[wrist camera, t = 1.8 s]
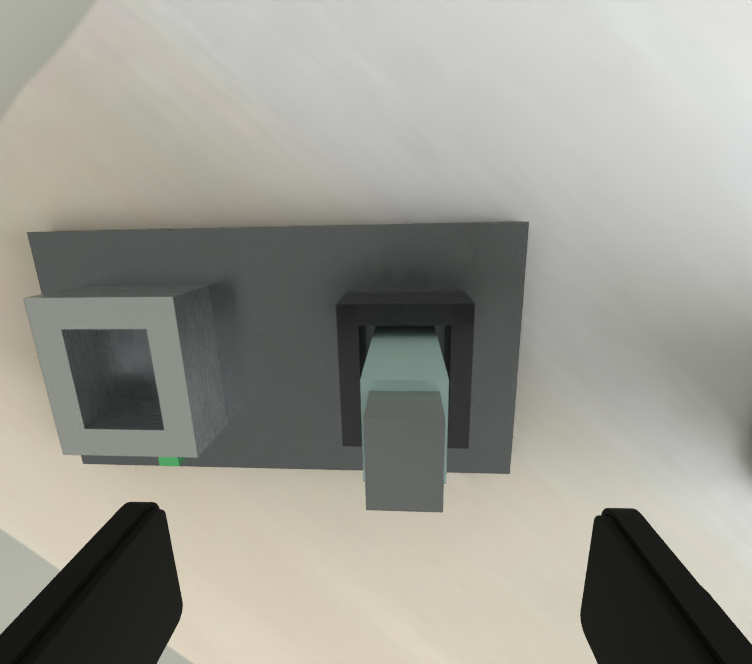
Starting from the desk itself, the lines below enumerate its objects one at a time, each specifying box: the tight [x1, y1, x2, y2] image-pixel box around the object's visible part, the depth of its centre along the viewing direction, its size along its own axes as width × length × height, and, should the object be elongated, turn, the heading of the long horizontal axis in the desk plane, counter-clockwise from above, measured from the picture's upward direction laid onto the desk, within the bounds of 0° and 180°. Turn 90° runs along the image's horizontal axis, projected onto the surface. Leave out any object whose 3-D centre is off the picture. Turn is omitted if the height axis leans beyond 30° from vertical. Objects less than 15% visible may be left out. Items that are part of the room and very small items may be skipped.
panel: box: [23, 222, 529, 474], centre depth 21 cm, size 26×14×5 cm, turn 91°
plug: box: [360, 326, 449, 512], centre depth 17 cm, size 3×4×10 cm
